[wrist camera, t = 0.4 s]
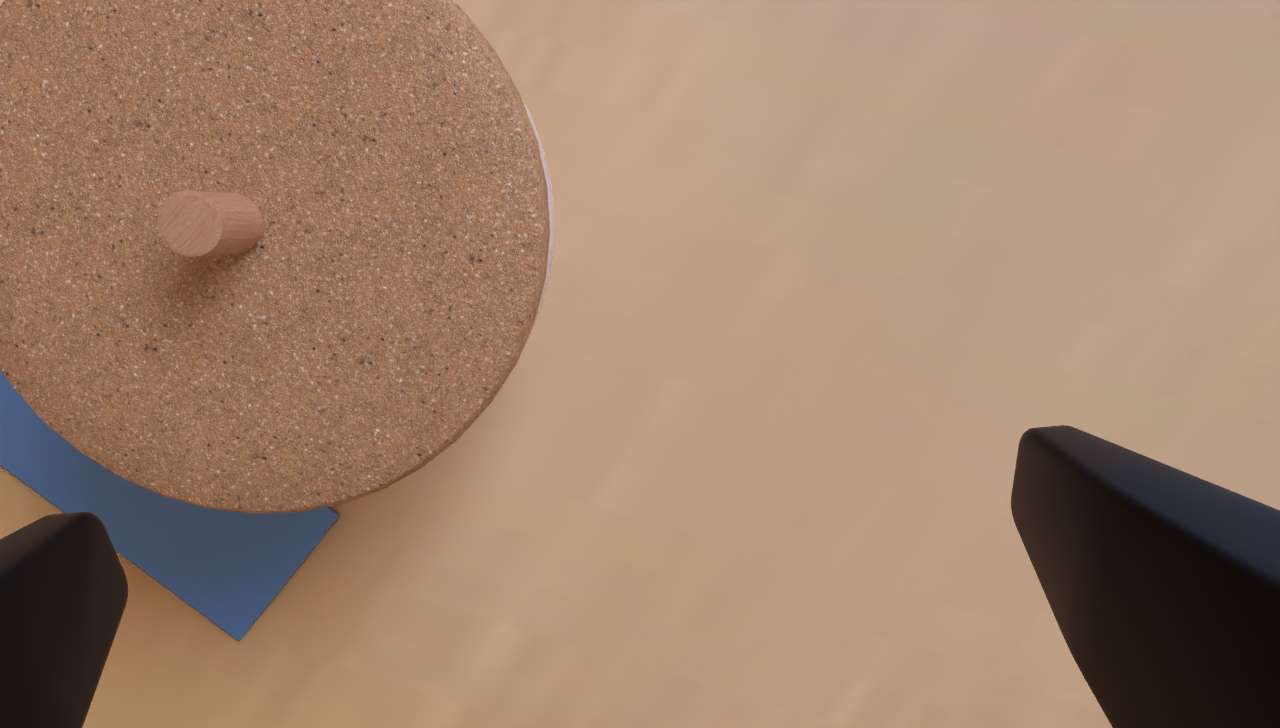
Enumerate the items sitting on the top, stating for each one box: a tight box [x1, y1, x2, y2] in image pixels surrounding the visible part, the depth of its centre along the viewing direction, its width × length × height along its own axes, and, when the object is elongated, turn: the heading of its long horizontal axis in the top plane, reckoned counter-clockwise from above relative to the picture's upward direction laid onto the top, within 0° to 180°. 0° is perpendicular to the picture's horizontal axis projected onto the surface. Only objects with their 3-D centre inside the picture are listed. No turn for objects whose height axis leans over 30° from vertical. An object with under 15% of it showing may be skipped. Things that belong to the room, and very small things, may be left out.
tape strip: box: [0, 370, 340, 641], centre depth 24 cm, size 5×14×1 cm, turn 51°
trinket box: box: [0, 0, 555, 514], centre depth 18 cm, size 11×11×9 cm
